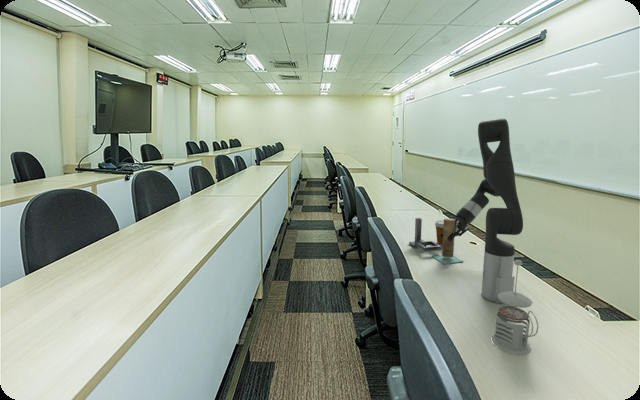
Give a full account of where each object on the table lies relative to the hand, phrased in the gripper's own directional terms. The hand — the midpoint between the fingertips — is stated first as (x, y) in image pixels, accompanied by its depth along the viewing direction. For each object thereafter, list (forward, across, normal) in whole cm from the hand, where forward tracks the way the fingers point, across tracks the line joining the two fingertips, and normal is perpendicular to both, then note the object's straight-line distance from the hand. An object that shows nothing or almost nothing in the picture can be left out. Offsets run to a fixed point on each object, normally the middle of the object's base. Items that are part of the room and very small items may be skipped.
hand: (445, 238), depth 147 cm
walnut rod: (+5, 0, +8) cm, 9 cm away
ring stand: (+9, -16, +6) cm, 19 cm away
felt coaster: (+6, 0, +9) cm, 11 cm away
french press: (+20, +62, -4) cm, 65 cm away
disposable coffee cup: (-2, -23, +18) cm, 29 cm away
